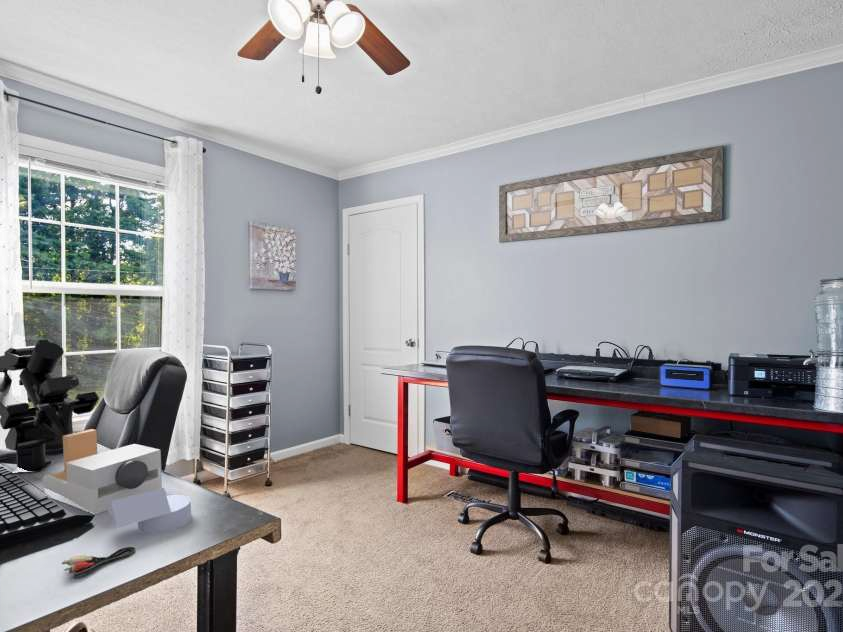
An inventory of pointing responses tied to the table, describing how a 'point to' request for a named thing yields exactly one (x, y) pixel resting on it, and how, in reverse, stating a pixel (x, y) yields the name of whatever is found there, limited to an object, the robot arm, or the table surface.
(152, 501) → the wedge on round base
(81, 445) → the tan boxy piece
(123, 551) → the composite cable
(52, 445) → the camera lens
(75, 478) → the camera case
